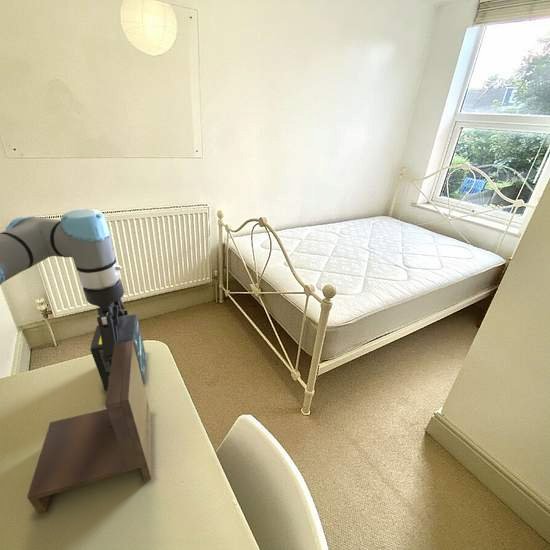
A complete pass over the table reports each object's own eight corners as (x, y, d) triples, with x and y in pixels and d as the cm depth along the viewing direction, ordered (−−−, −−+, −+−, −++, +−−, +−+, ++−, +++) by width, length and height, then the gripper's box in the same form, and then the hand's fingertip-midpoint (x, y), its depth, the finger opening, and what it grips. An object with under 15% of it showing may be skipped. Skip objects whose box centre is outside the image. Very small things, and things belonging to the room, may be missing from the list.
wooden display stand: (39, 515, 52) (-18, 433, 41) (59, 440, 64) (19, 360, 53) (151, 480, 58) (128, 399, 47) (151, 417, 69) (132, 340, 58)
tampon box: (110, 361, 83) (97, 318, 76) (146, 354, 86) (137, 312, 79) (103, 393, 74) (88, 347, 67) (144, 385, 77) (133, 340, 70)
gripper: (115, 311, 58) (137, 389, 68) (124, 256, 78) (140, 322, 88) (69, 318, 55) (99, 398, 66) (91, 259, 76) (111, 327, 86)
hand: (122, 355), depth 77 cm, fingers open, 13 cm apart
